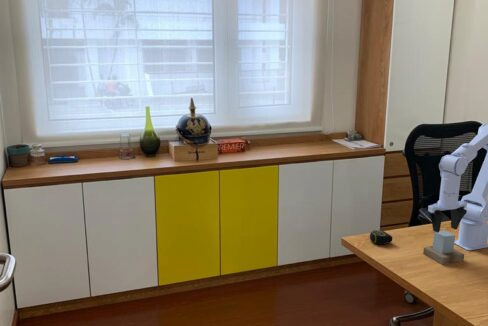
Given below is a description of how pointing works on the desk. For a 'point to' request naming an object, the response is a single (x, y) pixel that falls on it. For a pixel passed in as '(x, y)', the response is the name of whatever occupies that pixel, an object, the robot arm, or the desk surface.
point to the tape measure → (380, 237)
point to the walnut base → (443, 256)
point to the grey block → (443, 241)
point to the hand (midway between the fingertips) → (445, 230)
